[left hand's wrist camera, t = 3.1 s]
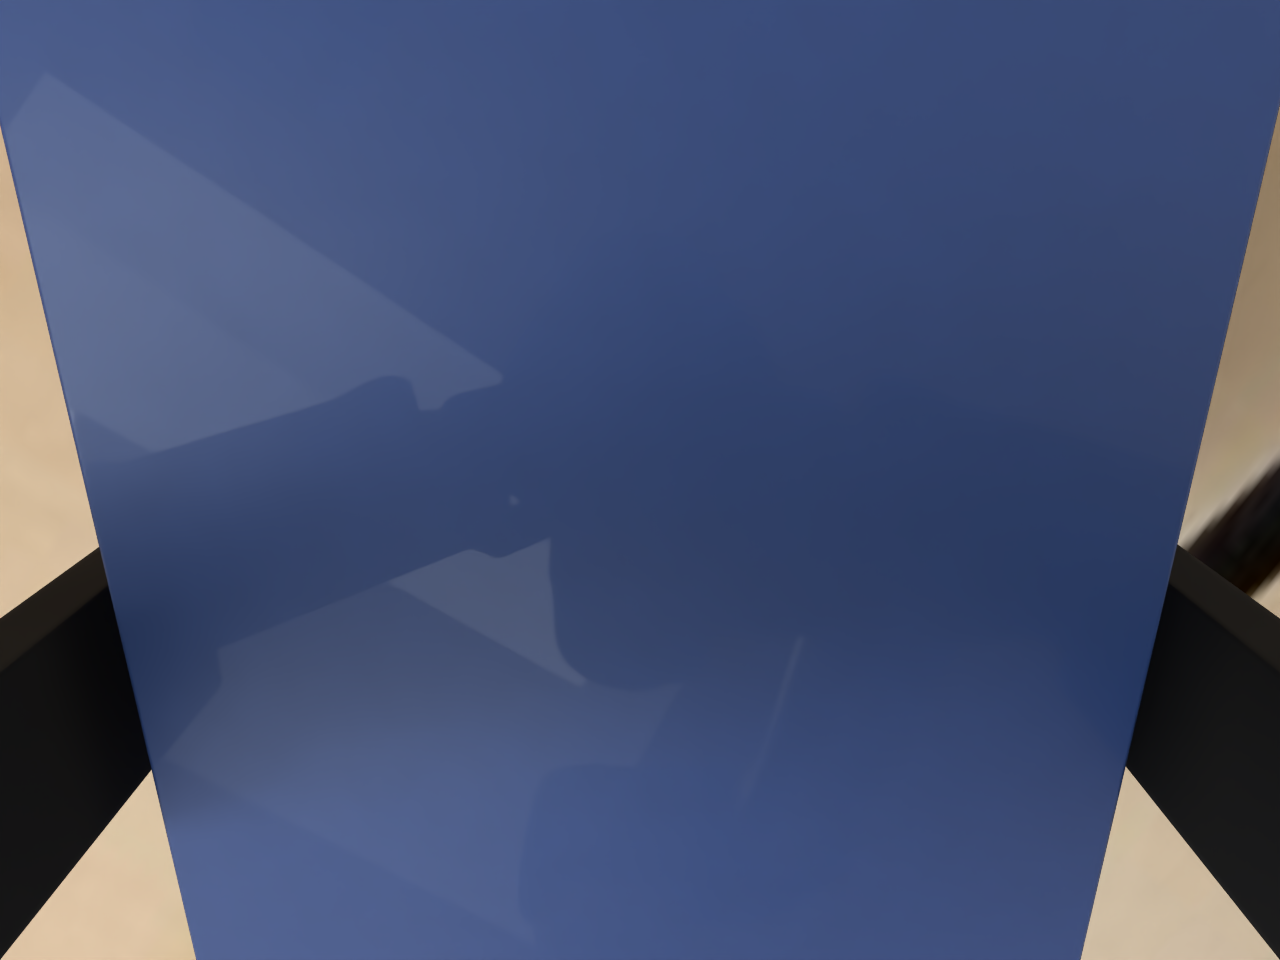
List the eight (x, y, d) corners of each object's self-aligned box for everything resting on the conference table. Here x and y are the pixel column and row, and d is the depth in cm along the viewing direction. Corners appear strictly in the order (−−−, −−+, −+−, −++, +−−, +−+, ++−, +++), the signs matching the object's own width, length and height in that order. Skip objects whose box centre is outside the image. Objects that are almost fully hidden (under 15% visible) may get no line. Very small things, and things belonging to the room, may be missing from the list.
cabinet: (340, -228, 16) (-280, -1040, 5) (936, -227, 16) (1552, -1040, 5) (419, 580, 22) (201, 992, 11) (858, 580, 22) (1075, 992, 11)
